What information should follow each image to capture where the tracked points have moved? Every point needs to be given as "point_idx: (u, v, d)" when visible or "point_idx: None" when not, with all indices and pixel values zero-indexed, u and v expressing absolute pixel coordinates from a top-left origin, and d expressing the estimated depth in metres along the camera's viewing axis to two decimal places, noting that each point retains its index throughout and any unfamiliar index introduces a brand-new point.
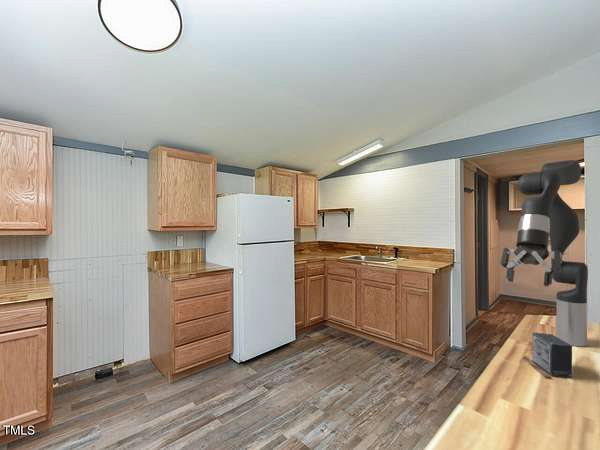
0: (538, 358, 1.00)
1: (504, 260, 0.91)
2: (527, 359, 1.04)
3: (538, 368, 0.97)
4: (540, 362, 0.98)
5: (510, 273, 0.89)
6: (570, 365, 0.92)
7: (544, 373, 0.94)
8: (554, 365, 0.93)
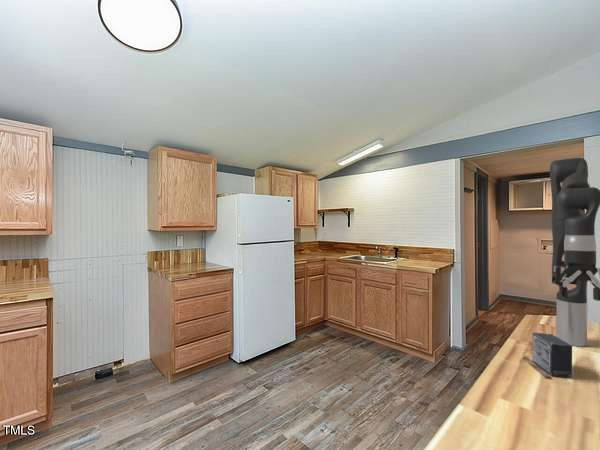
0: (538, 358, 1.00)
1: (559, 279, 0.95)
2: (527, 359, 1.04)
3: (538, 368, 0.97)
4: (540, 362, 0.98)
5: (566, 292, 0.94)
6: (570, 365, 0.92)
7: (544, 373, 0.94)
8: (554, 365, 0.93)
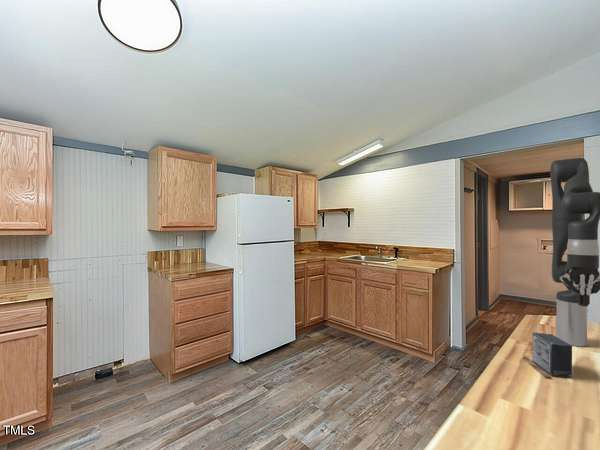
0: (538, 358, 1.00)
1: (574, 287, 0.95)
2: (527, 359, 1.04)
3: (538, 368, 0.97)
4: (540, 362, 0.98)
5: (584, 299, 0.95)
6: (570, 365, 0.92)
7: (544, 373, 0.94)
8: (554, 365, 0.93)
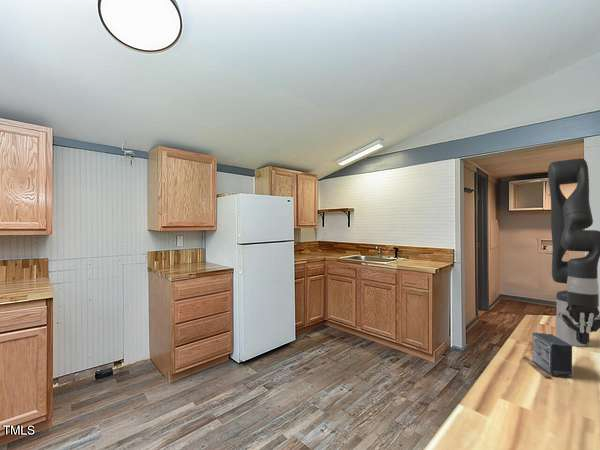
0: (538, 358, 1.00)
1: (573, 325, 0.95)
2: (527, 359, 1.04)
3: (538, 368, 0.97)
4: (540, 362, 0.98)
5: (583, 337, 0.95)
6: (570, 365, 0.92)
7: (544, 373, 0.94)
8: (554, 365, 0.93)
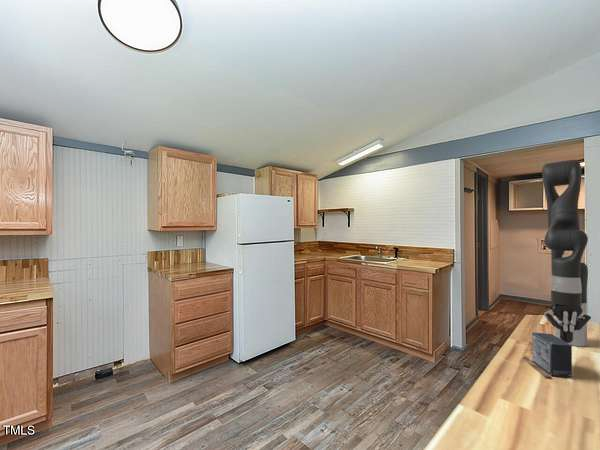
0: (538, 358, 1.00)
1: (557, 324, 0.96)
2: (527, 359, 1.04)
3: (538, 368, 0.97)
4: (540, 362, 0.98)
5: (567, 336, 0.96)
6: (570, 365, 0.92)
7: (544, 373, 0.94)
8: (554, 365, 0.93)
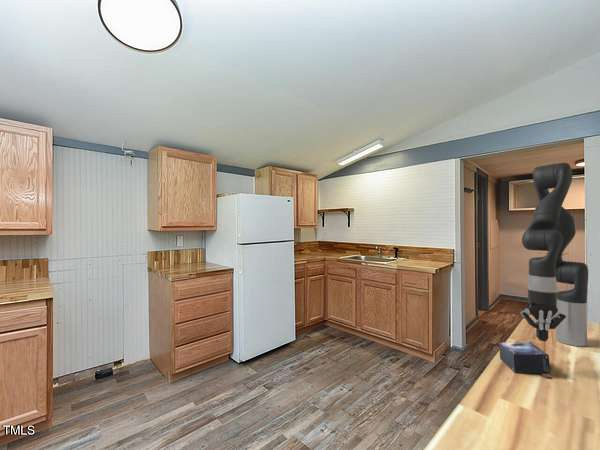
0: None
1: (533, 322, 0.98)
2: None
3: None
4: None
5: (543, 334, 0.97)
6: (535, 356, 0.94)
7: (544, 373, 0.94)
8: (538, 370, 0.94)
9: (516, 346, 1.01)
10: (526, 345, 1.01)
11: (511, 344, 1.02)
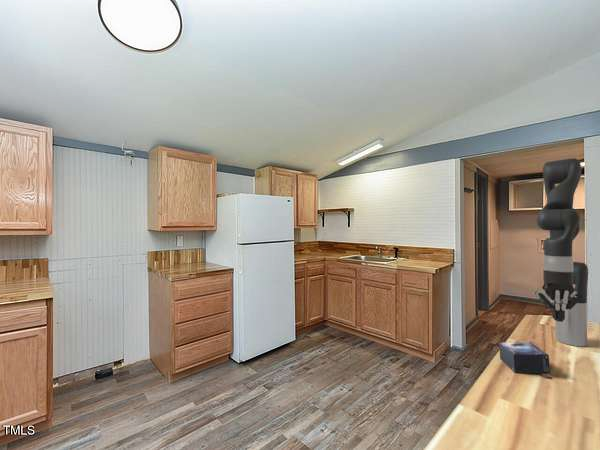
0: None
1: (549, 303, 0.97)
2: None
3: None
4: None
5: (559, 315, 0.96)
6: (535, 356, 0.94)
7: (544, 373, 0.94)
8: (538, 370, 0.94)
9: (516, 346, 1.01)
10: (526, 345, 1.01)
11: (511, 344, 1.02)
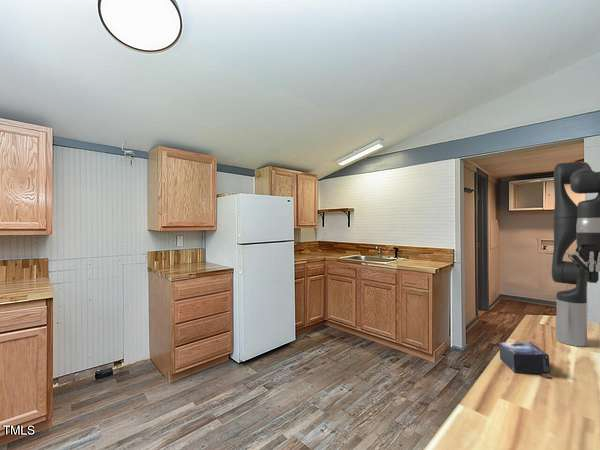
0: None
1: (583, 264, 0.98)
2: None
3: None
4: None
5: (593, 276, 0.97)
6: (535, 356, 0.94)
7: (544, 373, 0.94)
8: (538, 370, 0.94)
9: (516, 346, 1.01)
10: (526, 345, 1.01)
11: (511, 344, 1.02)
